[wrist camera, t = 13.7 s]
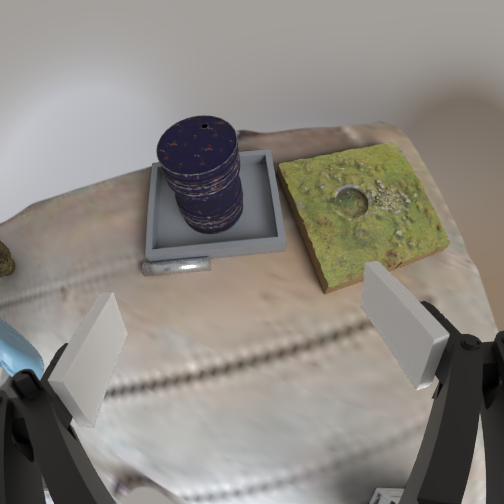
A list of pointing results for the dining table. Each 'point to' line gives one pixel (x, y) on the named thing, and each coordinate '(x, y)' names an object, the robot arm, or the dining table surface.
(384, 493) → the light bulb box
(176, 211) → the tray
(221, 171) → the storage jar
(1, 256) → the cup
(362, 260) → the miniature landscape model
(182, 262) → the rod
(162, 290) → the dining table surface
